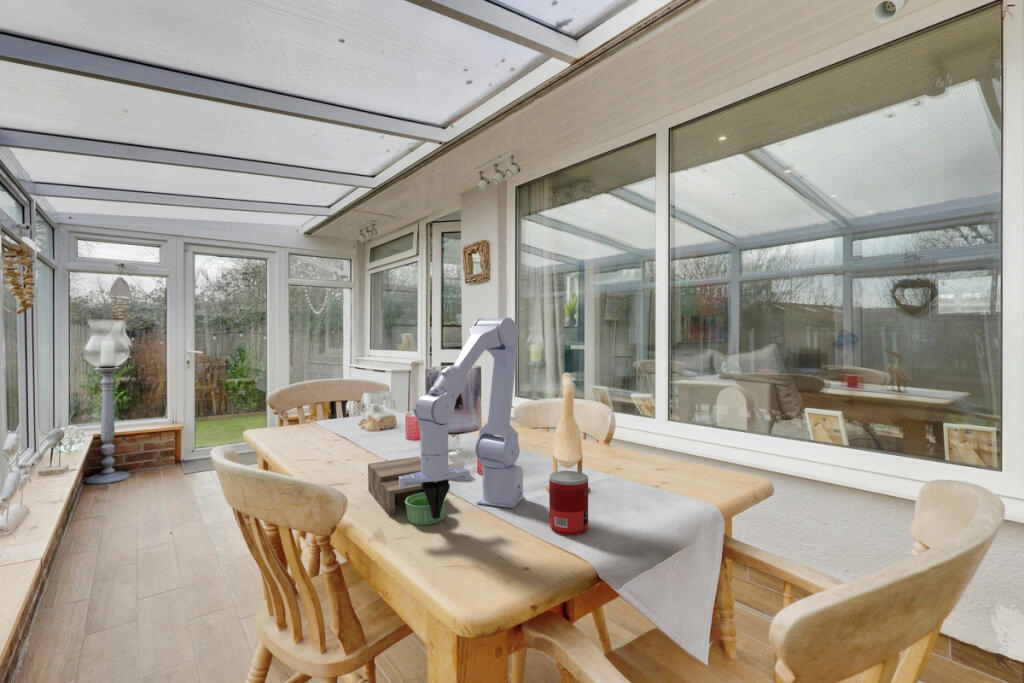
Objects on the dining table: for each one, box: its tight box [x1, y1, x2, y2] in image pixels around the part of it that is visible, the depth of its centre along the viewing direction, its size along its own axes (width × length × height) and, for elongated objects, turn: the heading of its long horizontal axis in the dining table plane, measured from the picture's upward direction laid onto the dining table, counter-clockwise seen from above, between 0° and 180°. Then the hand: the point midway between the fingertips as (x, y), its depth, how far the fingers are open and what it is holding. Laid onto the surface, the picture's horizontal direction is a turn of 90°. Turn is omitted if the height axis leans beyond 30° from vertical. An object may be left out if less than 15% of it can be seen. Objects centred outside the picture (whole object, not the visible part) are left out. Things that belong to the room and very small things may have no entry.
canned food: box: [548, 470, 589, 536], centre depth 99 cm, size 8×8×11 cm
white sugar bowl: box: [448, 451, 466, 469], centre depth 135 cm, size 6×6×7 cm
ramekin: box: [404, 492, 448, 526], centre depth 105 cm, size 9×9×4 cm
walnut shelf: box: [367, 456, 447, 518], centre depth 118 cm, size 20×13×7 cm
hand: (435, 516), depth 100 cm, fingers closed
